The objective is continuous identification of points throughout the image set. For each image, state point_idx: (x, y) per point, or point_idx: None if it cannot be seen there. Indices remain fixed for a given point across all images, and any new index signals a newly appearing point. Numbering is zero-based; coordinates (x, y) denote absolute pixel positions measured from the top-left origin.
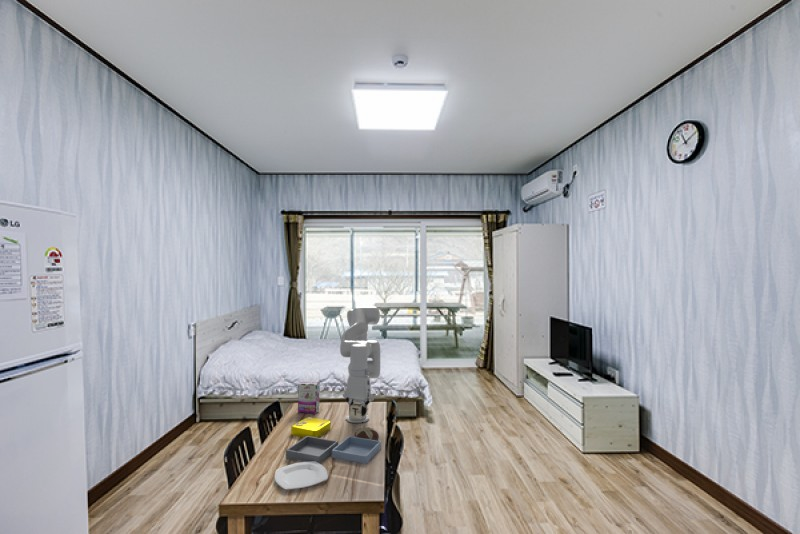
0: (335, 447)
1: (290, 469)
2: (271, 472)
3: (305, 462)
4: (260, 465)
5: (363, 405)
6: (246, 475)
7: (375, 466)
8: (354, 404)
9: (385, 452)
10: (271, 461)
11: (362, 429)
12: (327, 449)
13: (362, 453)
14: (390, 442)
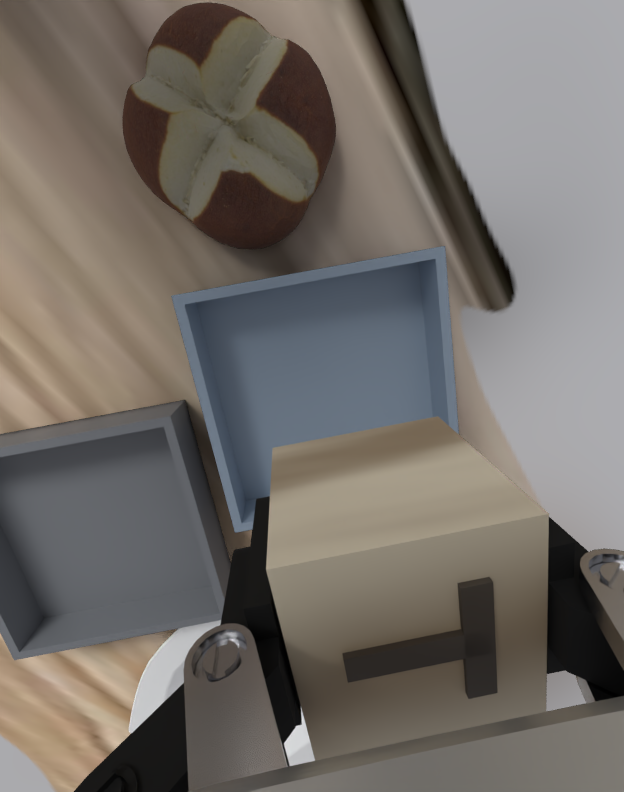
0: (226, 495)
1: (173, 692)
2: (110, 715)
3: (184, 634)
4: (12, 707)
5: (600, 688)
6: (51, 772)
7: (490, 448)
8: (348, 680)
9: (468, 273)
10: (14, 665)
11: (187, 126)
12: (205, 539)
13: (361, 381)
14: (431, 98)
